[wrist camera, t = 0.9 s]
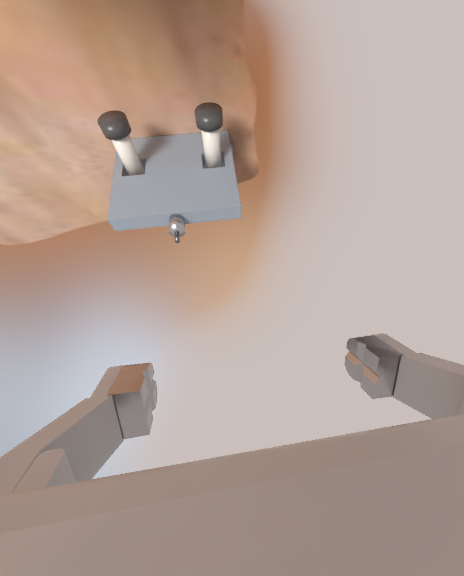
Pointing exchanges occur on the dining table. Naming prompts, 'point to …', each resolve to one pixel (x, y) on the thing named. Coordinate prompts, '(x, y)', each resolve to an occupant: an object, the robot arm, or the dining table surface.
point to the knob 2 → (210, 131)
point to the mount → (174, 184)
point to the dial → (176, 226)
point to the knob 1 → (121, 139)
